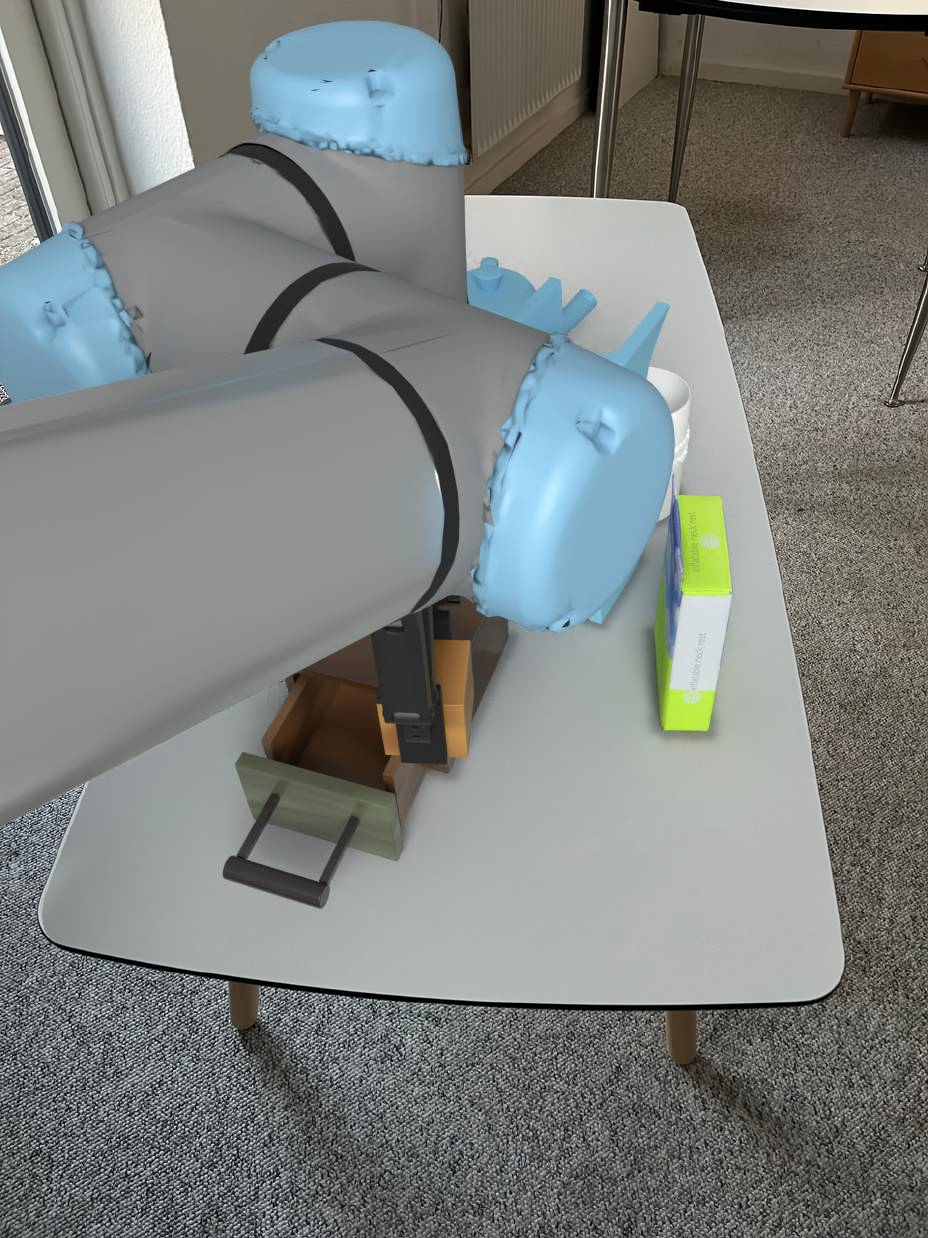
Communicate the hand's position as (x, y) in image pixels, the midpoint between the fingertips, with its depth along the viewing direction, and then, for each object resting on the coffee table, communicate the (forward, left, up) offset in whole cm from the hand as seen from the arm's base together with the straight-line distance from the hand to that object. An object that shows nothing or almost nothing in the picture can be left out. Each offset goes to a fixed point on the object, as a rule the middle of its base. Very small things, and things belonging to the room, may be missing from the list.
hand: (429, 720), depth 66 cm
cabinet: (+9, +13, -15) cm, 22 cm away
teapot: (+48, +38, -15) cm, 63 cm away
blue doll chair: (+28, +11, -15) cm, 34 cm away
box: (+24, -4, -15) cm, 28 cm away
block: (0, 0, 0) cm, 0 cm away
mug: (+41, +13, -15) cm, 46 cm away
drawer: (-2, +8, -14) cm, 16 cm away
